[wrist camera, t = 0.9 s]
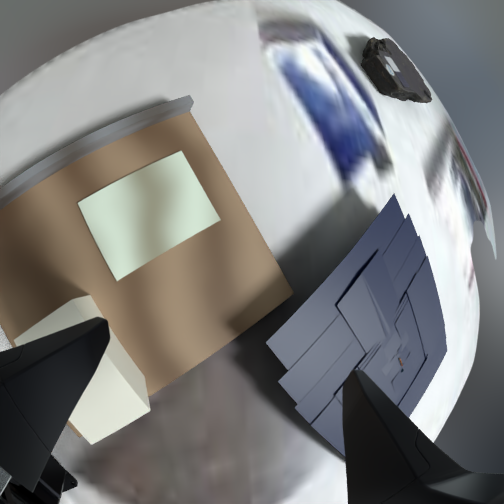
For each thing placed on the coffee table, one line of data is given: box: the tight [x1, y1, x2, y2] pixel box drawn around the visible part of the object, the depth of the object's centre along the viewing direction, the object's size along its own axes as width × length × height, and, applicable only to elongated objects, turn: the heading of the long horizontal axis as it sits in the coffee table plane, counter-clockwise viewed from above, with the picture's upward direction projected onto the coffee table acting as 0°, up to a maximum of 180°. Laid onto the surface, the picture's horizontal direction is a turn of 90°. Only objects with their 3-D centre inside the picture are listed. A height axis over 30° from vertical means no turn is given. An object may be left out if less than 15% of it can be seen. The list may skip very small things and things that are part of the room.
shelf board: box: [0, 95, 294, 437], centre depth 18 cm, size 22×19×2 cm
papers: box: [266, 194, 447, 456], centre depth 28 cm, size 24×30×4 cm
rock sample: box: [361, 37, 432, 103], centre depth 36 cm, size 18×16×5 cm
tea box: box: [14, 295, 151, 445], centre depth 14 cm, size 7×5×6 cm
